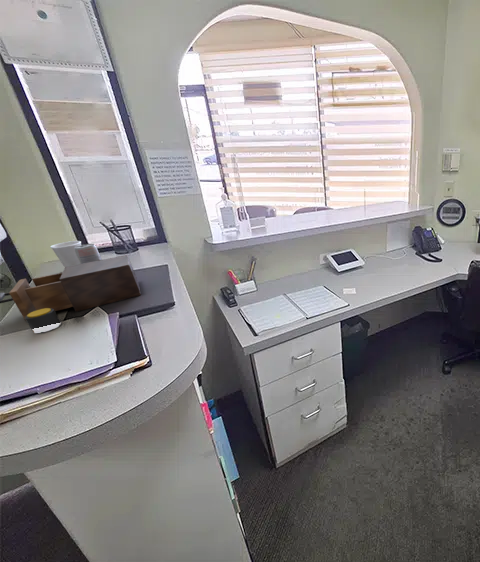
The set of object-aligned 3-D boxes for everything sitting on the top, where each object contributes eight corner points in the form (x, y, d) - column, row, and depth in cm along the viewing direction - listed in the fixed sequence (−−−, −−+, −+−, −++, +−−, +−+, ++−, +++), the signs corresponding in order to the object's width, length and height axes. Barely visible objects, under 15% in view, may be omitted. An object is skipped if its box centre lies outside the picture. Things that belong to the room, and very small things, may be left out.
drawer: (-1, 327, 75) (-19, 298, 72) (10, 310, 83) (-5, 284, 80) (94, 303, 85) (81, 277, 82) (95, 290, 93) (84, 266, 90)
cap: (31, 336, 72) (21, 319, 70) (35, 328, 76) (26, 312, 74) (60, 328, 75) (51, 312, 73) (62, 320, 78) (54, 305, 77)
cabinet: (75, 311, 83) (59, 279, 79) (79, 296, 92) (65, 266, 88) (141, 295, 91) (129, 264, 87) (138, 282, 100) (127, 254, 96)
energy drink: (105, 275, 108) (91, 242, 103) (112, 278, 105) (97, 244, 100) (86, 281, 104) (70, 247, 99) (93, 284, 101) (77, 249, 96)
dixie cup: (65, 269, 117) (53, 243, 113) (93, 264, 121) (82, 239, 117) (60, 275, 111) (47, 248, 107) (90, 269, 115) (78, 244, 111)
